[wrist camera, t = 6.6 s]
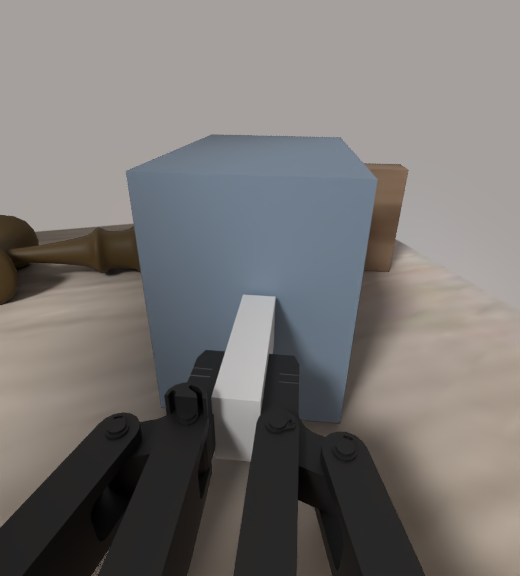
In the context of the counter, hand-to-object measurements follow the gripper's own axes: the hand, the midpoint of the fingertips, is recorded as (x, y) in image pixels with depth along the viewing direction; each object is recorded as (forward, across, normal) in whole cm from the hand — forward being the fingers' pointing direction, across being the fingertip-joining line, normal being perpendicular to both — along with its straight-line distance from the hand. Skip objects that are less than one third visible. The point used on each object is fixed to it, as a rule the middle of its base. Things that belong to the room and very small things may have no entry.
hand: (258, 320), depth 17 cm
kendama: (+15, -22, -7) cm, 27 cm away
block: (+8, -1, -6) cm, 10 cm away
